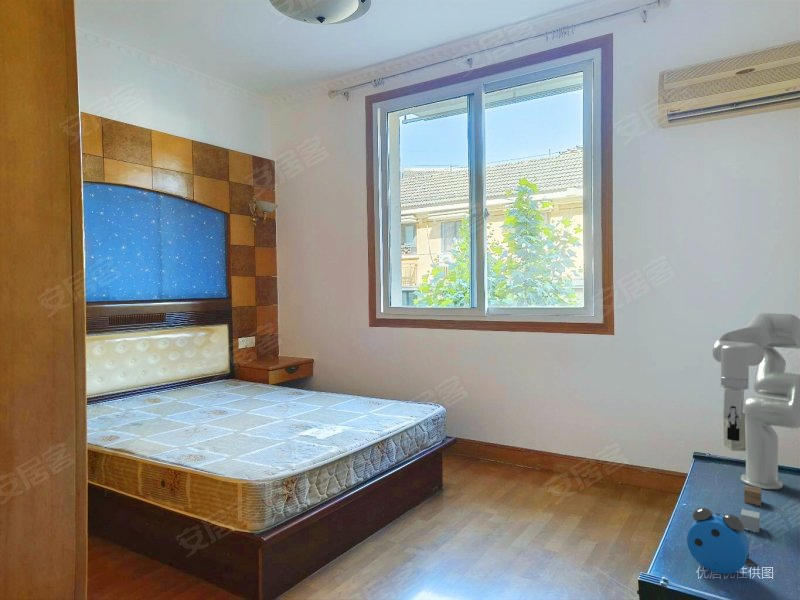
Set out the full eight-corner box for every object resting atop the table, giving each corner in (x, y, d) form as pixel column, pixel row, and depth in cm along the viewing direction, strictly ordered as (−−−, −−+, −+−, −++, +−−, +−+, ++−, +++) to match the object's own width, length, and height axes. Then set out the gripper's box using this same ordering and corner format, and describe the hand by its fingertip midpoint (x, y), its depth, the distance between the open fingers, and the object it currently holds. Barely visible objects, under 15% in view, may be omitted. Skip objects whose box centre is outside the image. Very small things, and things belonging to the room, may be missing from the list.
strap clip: (726, 550, 140) (726, 535, 140) (737, 550, 140) (737, 535, 140) (747, 567, 132) (747, 551, 132) (759, 567, 132) (759, 551, 132)
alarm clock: (749, 572, 129) (749, 514, 129) (745, 583, 124) (746, 523, 124) (691, 555, 138) (691, 500, 137) (686, 564, 133) (686, 508, 132)
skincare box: (746, 451, 162) (746, 414, 161) (730, 451, 163) (730, 413, 162) (737, 445, 168) (737, 409, 167) (722, 444, 169) (722, 408, 168)
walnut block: (744, 498, 173) (745, 485, 173) (761, 501, 170) (761, 488, 170) (744, 503, 170) (744, 489, 169) (760, 506, 167) (760, 492, 167)
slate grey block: (741, 523, 156) (741, 508, 155) (759, 527, 153) (759, 512, 153) (740, 529, 152) (740, 514, 152) (759, 533, 149) (759, 518, 149)
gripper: (723, 377, 174) (722, 428, 174) (718, 386, 160) (718, 441, 160) (749, 379, 169) (749, 432, 170) (747, 389, 155) (746, 446, 156)
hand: (734, 436), depth 165 cm, fingers closed on skincare box, 7 cm apart
